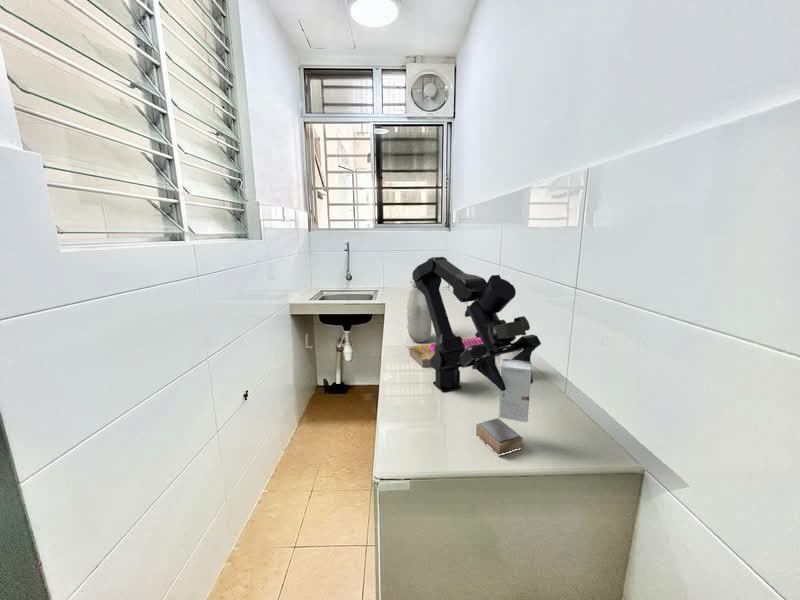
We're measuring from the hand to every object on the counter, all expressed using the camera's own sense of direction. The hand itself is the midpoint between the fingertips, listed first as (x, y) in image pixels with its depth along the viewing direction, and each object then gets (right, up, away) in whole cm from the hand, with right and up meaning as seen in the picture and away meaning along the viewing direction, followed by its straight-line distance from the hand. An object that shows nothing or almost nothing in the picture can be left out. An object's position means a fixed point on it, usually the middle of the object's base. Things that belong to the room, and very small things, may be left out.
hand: (518, 386), depth 70 cm
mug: (+9, -6, +36) cm, 38 cm away
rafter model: (-4, -3, +55) cm, 55 cm away
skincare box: (0, -7, +2) cm, 7 cm away
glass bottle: (-16, +1, +70) cm, 72 cm away
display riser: (-3, -13, +3) cm, 14 cm away
